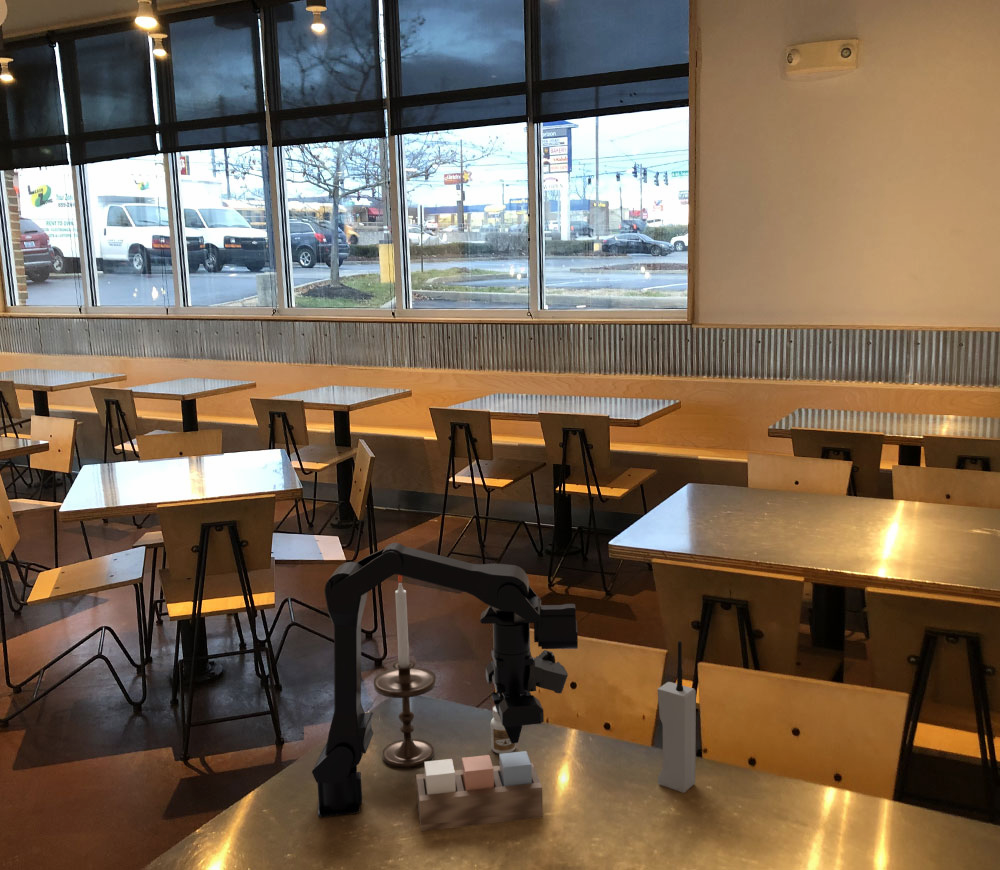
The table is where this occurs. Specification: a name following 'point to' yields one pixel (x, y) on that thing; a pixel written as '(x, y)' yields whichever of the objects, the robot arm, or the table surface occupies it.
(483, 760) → the key terracotta
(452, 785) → the key white
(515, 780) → the key slate
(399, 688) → the candlestick
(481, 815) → the key housing
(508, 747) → the pill bottle
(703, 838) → the table surface
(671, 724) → the vintage mobile phone
